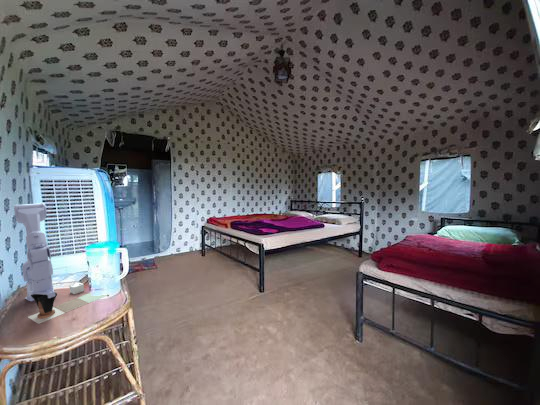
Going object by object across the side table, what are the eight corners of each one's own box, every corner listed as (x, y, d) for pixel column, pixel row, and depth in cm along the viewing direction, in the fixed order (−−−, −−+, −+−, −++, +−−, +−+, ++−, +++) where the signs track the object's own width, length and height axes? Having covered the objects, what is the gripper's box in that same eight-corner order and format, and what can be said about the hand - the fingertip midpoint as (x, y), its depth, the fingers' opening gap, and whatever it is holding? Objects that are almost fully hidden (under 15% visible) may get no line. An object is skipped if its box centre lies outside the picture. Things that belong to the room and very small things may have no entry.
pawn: (35, 316, 98) (33, 302, 97) (51, 310, 102) (49, 296, 102) (41, 320, 95) (39, 305, 95) (57, 313, 100) (55, 299, 99)
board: (27, 318, 98) (27, 317, 98) (97, 291, 120) (97, 290, 120) (38, 325, 93) (38, 323, 93) (108, 295, 115) (108, 294, 115)
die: (70, 293, 118) (69, 285, 117) (80, 290, 121) (79, 282, 121) (74, 295, 116) (73, 287, 115) (84, 292, 119) (83, 284, 119)
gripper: (20, 278, 97) (24, 311, 99) (36, 285, 90) (41, 320, 92) (43, 271, 103) (47, 302, 105) (60, 278, 96) (64, 311, 98)
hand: (45, 310), depth 99 cm, fingers closed on pawn, 4 cm apart
